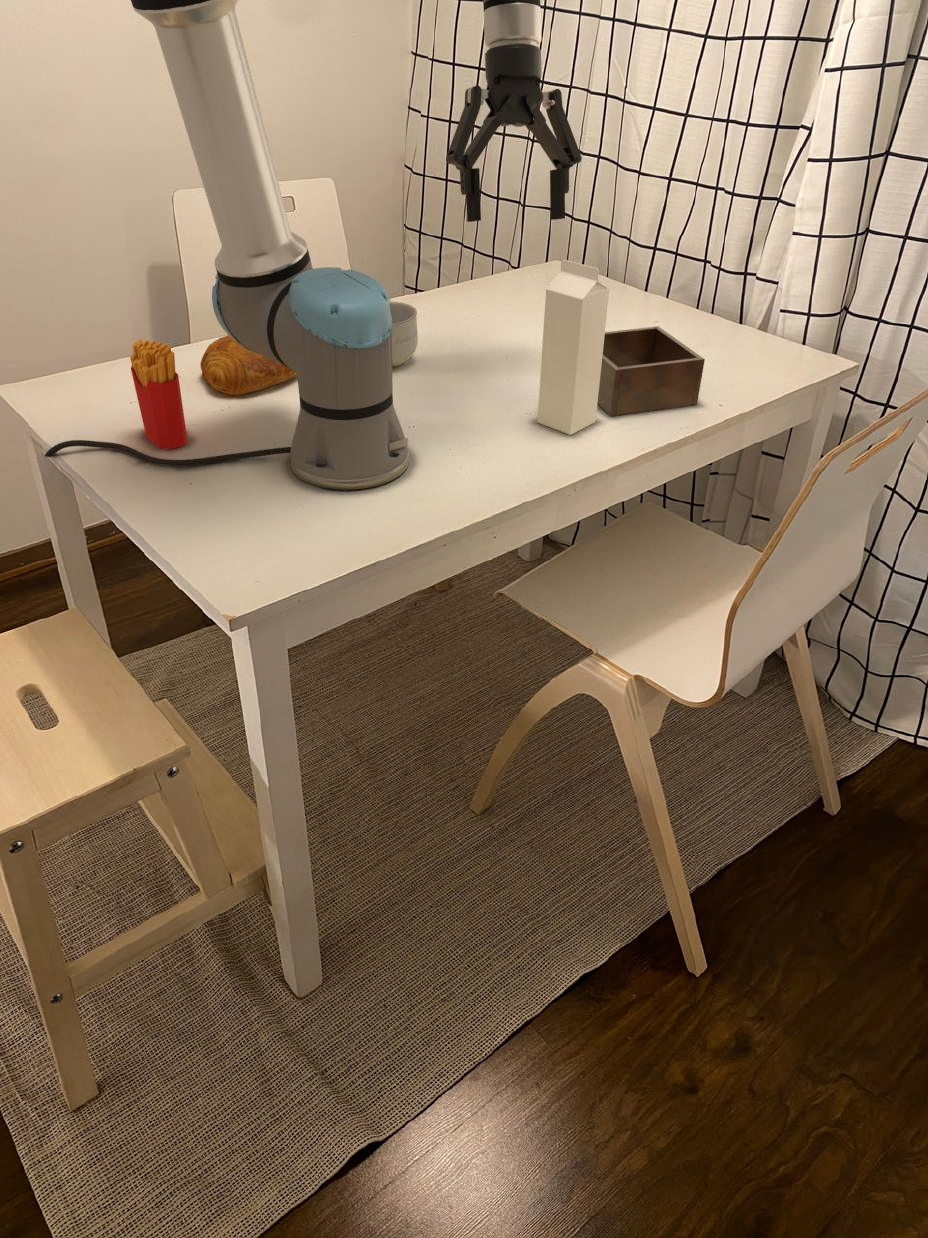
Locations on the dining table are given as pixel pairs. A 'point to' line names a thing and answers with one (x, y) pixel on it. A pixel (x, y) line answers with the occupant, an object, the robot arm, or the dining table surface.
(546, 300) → the milk
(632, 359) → the caddy
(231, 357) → the croissant
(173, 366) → the french fries
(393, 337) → the teacup
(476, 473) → the dining table surface
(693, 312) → the dining table surface
